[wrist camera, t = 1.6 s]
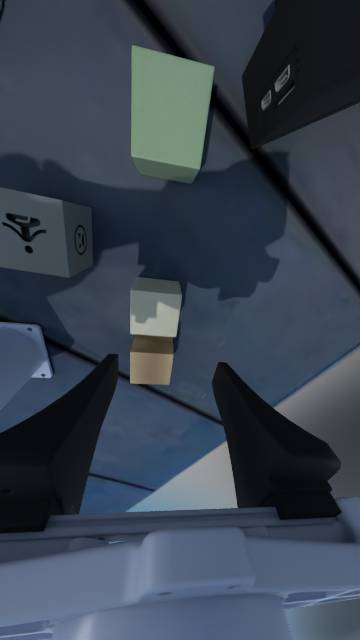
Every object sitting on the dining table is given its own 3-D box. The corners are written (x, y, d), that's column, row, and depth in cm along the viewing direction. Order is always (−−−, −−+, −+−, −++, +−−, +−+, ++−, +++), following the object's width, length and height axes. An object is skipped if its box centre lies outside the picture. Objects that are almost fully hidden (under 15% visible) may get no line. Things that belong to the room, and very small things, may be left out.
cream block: (137, 314, 21) (130, 334, 17) (137, 276, 19) (130, 289, 15) (174, 317, 21) (176, 337, 17) (179, 281, 19) (182, 295, 15)
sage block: (140, 174, 15) (130, 156, 11) (142, 98, 13) (131, 43, 9) (191, 184, 15) (200, 169, 11) (201, 112, 13) (215, 65, 9)
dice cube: (91, 207, 16) (61, 200, 11) (93, 265, 18) (69, 277, 13) (28, 194, 15) (-29, 180, 11) (39, 256, 17) (-6, 266, 13)
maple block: (136, 357, 24) (130, 383, 20) (136, 329, 22) (130, 351, 18) (168, 359, 24) (169, 384, 20) (172, 332, 22) (173, 354, 18)
